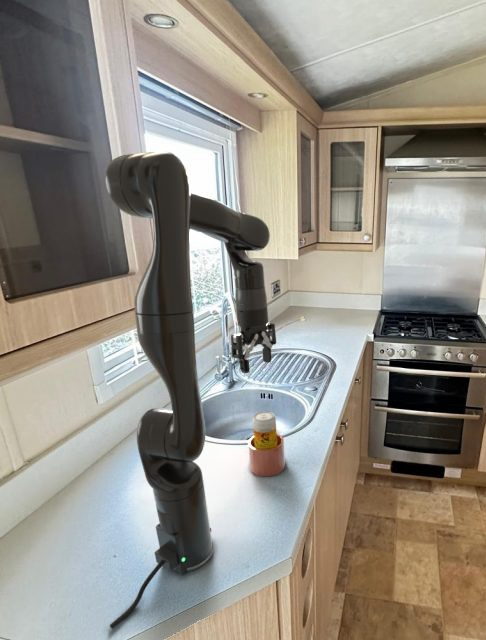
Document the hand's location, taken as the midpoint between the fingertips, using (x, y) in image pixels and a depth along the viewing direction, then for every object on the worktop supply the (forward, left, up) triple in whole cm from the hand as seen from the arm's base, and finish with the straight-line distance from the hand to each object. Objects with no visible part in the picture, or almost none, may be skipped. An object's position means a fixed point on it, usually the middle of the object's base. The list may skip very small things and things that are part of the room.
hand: (256, 367), depth 105 cm
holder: (-1, -2, -29) cm, 29 cm away
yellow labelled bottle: (-1, -2, -28) cm, 28 cm away
